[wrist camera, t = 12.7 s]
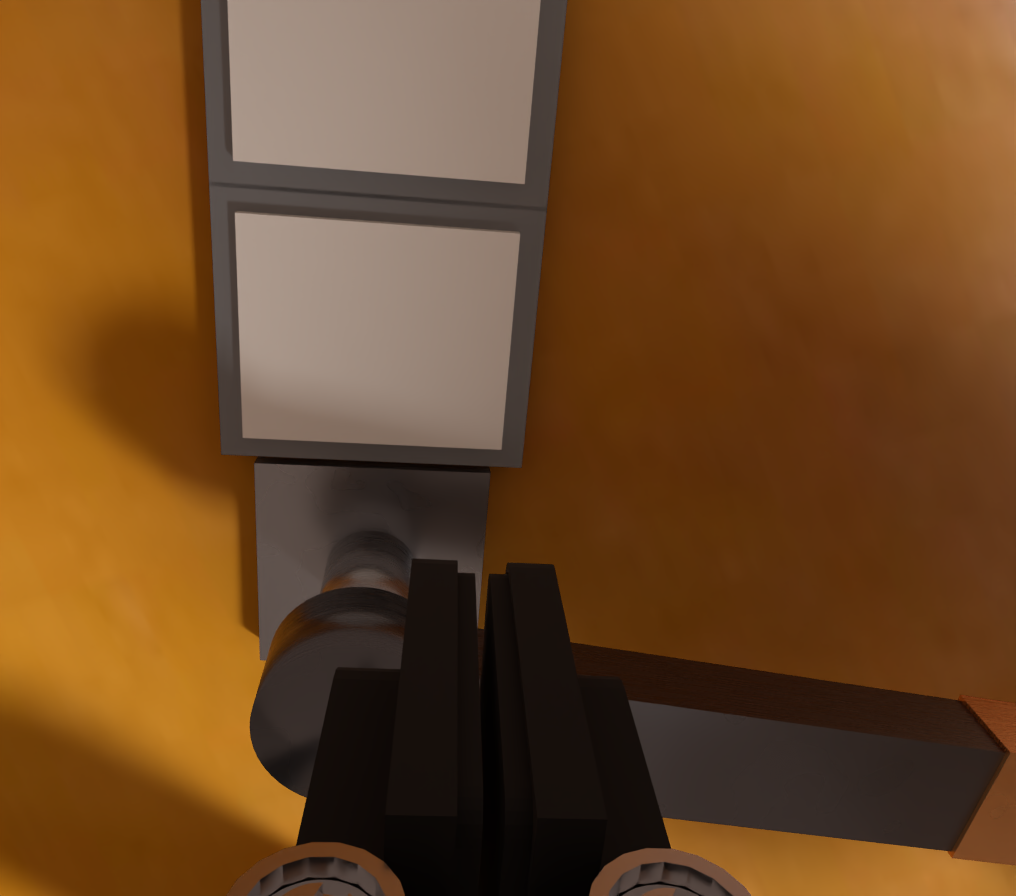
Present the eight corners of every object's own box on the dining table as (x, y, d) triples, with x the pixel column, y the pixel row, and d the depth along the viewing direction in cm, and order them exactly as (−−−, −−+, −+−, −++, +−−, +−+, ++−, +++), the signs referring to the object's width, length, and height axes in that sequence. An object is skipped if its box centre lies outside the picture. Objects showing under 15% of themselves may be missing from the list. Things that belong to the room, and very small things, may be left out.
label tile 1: (573, -113, 18) (581, -126, 17) (542, 207, 21) (548, 213, 20) (203, -158, 17) (188, -172, 16) (217, 182, 20) (205, 187, 19)
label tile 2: (542, 203, 21) (548, 208, 20) (518, 455, 23) (522, 472, 22) (217, 178, 20) (205, 182, 19) (228, 442, 22) (218, 459, 21)
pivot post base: (488, 461, 23) (500, 542, 19) (473, 647, 25) (481, 756, 21) (260, 451, 23) (221, 531, 18) (265, 643, 25) (232, 754, 21)
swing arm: (258, 721, 20) (238, 793, 18) (281, 573, 18) (263, 633, 16) (968, 811, 23) (1021, 881, 21) (1036, 690, 21) (1099, 753, 19)
